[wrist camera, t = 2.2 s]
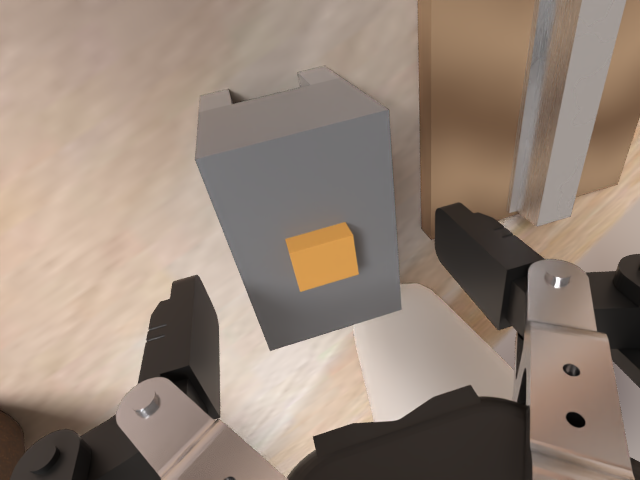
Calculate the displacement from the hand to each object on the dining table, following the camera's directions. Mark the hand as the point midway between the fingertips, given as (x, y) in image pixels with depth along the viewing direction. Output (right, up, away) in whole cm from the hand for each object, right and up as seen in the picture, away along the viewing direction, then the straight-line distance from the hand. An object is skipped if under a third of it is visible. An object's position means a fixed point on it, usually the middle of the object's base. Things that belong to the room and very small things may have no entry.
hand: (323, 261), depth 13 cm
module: (-2, +4, +6) cm, 7 cm away
